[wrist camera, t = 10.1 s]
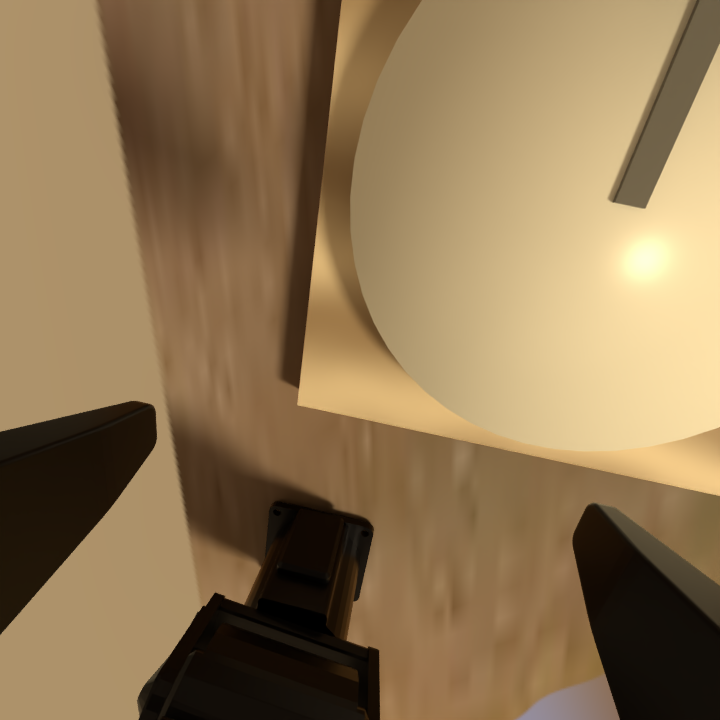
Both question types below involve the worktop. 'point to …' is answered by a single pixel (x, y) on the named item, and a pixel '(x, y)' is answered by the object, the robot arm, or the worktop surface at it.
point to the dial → (549, 216)
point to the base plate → (353, 320)
